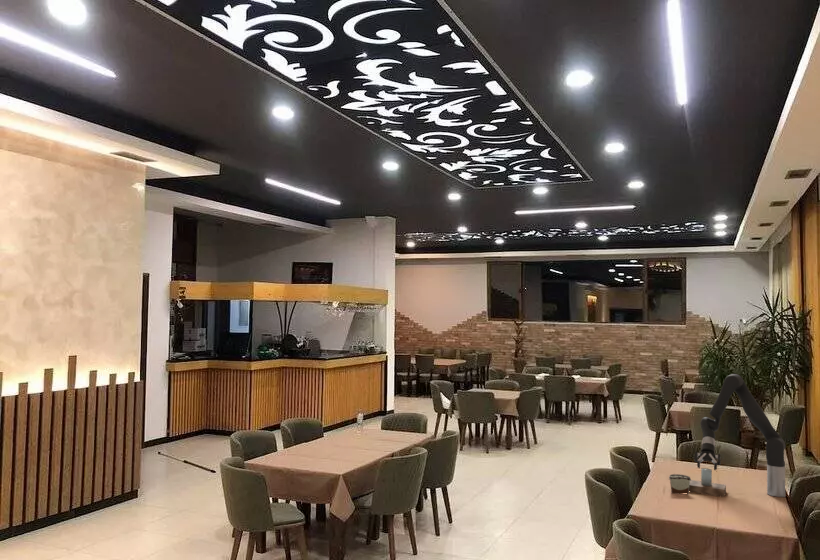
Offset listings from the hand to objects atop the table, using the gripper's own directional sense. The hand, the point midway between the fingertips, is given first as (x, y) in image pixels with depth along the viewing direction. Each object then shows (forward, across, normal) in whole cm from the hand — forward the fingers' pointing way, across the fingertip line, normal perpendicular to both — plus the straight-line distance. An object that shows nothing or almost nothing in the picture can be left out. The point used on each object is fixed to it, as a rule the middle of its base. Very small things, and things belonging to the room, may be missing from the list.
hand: (706, 468), depth 382 cm
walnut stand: (+10, 0, +8) cm, 13 cm away
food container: (+19, -14, 0) cm, 24 cm away
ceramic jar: (+8, 0, +5) cm, 9 cm away
